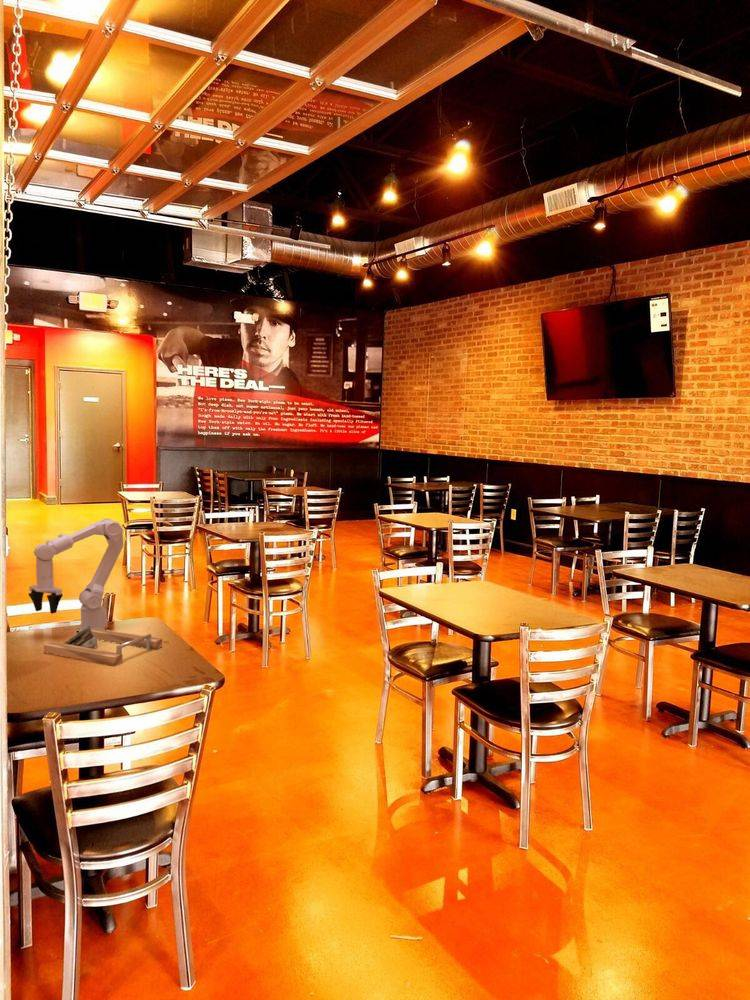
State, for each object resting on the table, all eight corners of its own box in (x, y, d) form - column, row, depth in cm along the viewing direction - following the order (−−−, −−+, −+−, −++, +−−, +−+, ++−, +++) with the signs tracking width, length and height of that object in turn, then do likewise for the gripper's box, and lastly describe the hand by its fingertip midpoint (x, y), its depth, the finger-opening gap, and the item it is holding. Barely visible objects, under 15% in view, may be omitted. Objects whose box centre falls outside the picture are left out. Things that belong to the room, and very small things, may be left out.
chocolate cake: (69, 657, 258) (94, 629, 262) (58, 647, 262) (83, 620, 266) (85, 668, 265) (109, 641, 270) (74, 659, 269) (98, 633, 273)
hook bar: (149, 648, 266) (148, 633, 266) (151, 649, 266) (151, 634, 265) (116, 661, 252) (116, 645, 251) (119, 662, 251) (119, 646, 250)
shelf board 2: (95, 635, 282) (95, 627, 281) (162, 646, 269) (162, 638, 268) (87, 638, 278) (87, 630, 278) (154, 649, 265) (154, 641, 265)
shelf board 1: (52, 649, 264) (52, 641, 263) (122, 662, 250) (122, 654, 250) (43, 653, 260) (43, 644, 260) (113, 666, 247) (113, 657, 247)
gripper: (21, 576, 275) (23, 611, 277) (50, 579, 269) (51, 616, 271) (37, 572, 282) (38, 607, 283) (65, 576, 276) (66, 612, 277)
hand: (46, 611), depth 277 cm, fingers open, 7 cm apart
